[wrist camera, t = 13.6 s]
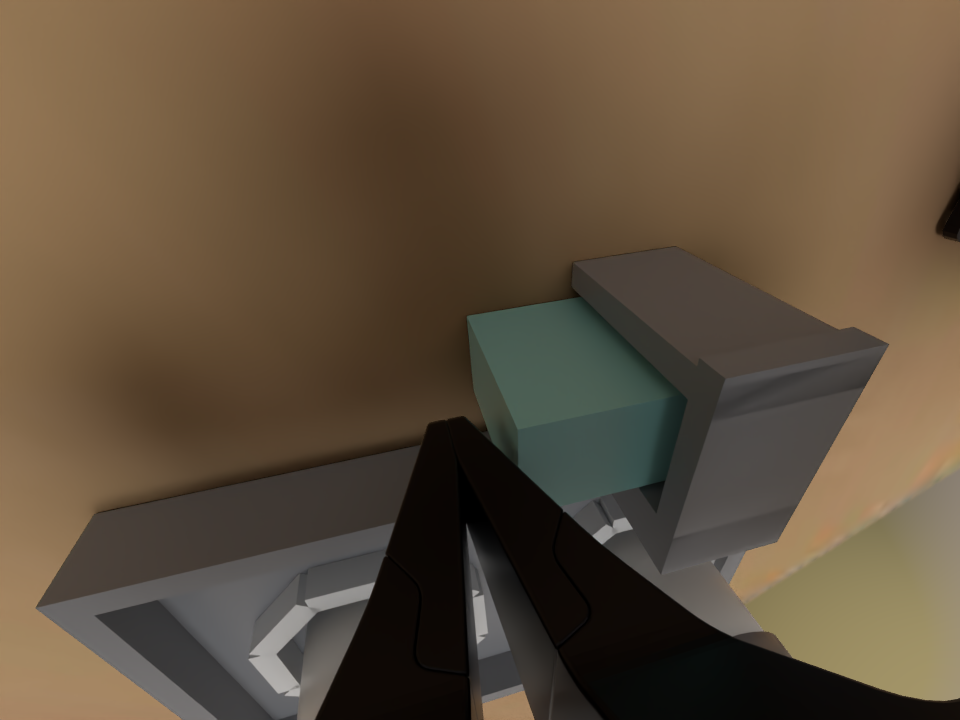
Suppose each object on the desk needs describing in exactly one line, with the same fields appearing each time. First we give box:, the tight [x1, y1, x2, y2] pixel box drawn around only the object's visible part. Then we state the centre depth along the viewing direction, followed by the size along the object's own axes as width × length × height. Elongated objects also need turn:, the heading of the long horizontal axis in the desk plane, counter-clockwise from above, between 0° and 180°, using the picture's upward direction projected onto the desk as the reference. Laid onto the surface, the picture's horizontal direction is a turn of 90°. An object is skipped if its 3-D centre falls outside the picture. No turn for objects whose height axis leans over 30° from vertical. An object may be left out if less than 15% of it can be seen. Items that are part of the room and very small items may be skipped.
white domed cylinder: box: [297, 599, 369, 720], centre depth 13 cm, size 5×5×6 cm
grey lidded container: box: [602, 529, 792, 658], centre depth 15 cm, size 5×5×6 cm
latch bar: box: [467, 297, 688, 506], centre depth 10 cm, size 6×2×4 cm, turn 93°
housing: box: [36, 246, 889, 720], centre depth 14 cm, size 21×20×6 cm
